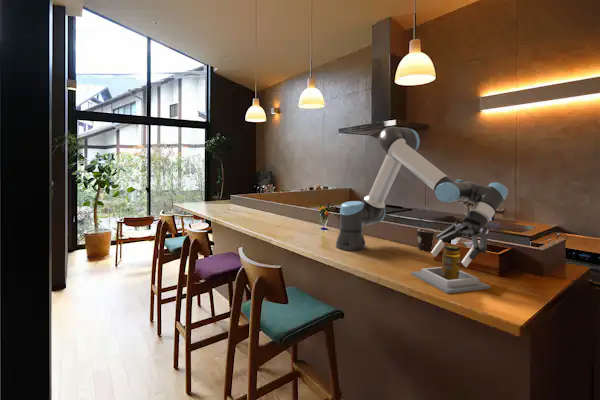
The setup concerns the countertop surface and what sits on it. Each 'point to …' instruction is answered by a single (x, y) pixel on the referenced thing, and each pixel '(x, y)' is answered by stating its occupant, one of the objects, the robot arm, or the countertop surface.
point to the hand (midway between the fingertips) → (447, 259)
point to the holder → (450, 281)
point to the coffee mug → (425, 240)
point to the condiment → (450, 262)
